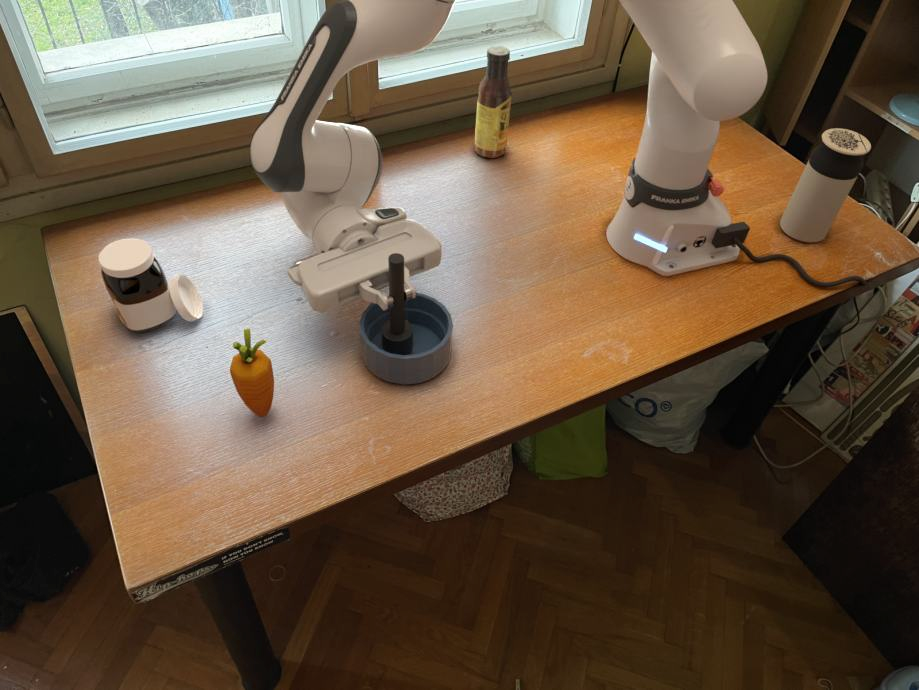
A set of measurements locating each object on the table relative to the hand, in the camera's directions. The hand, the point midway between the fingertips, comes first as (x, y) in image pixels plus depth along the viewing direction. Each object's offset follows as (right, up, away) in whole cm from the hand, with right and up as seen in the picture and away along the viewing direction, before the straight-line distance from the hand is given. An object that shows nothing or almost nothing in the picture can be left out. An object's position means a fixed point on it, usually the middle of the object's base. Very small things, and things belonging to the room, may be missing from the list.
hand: (400, 300), depth 95 cm
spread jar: (-36, -1, +12) cm, 38 cm away
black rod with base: (-1, -6, +7) cm, 10 cm away
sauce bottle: (+14, +32, +46) cm, 58 cm away
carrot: (-18, -15, 0) cm, 24 cm away
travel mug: (+69, +15, +33) cm, 78 cm away
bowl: (0, -7, +9) cm, 11 cm away
